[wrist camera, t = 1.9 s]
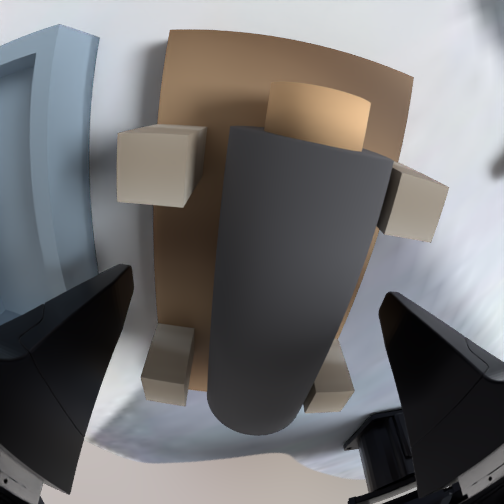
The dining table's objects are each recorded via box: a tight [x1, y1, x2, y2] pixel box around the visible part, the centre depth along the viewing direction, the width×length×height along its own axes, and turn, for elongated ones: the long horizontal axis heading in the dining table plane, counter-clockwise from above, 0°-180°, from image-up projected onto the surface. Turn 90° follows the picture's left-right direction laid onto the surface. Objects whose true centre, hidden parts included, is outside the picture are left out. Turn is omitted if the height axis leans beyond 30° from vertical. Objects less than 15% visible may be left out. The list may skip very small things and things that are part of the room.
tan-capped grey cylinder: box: [207, 82, 394, 436], centre depth 8 cm, size 11×4×4 cm, turn 172°
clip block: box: [117, 30, 449, 413], centre depth 10 cm, size 16×8×4 cm, turn 172°
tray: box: [0, 24, 100, 325], centre depth 9 cm, size 15×9×3 cm, turn 172°
